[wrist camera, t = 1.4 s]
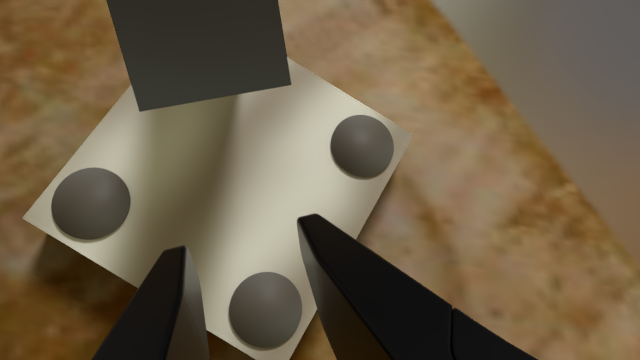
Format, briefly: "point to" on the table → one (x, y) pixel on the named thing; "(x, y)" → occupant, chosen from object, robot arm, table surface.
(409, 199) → the table surface
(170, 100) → the folding leg
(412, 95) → the table surface
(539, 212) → the table surface
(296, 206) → the stool seat
